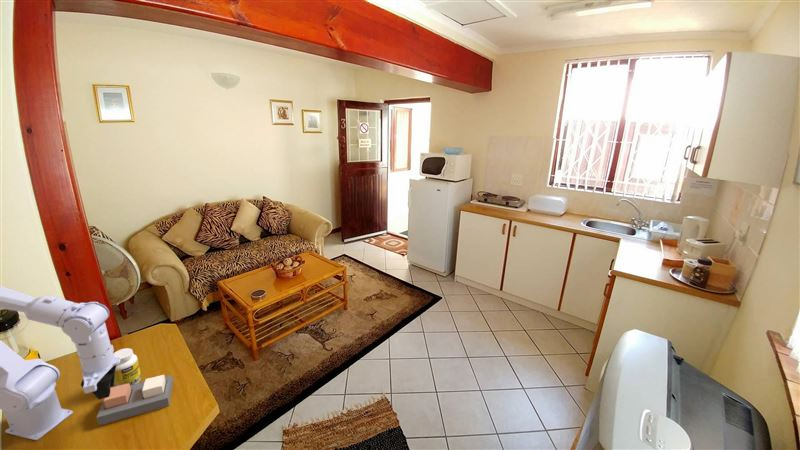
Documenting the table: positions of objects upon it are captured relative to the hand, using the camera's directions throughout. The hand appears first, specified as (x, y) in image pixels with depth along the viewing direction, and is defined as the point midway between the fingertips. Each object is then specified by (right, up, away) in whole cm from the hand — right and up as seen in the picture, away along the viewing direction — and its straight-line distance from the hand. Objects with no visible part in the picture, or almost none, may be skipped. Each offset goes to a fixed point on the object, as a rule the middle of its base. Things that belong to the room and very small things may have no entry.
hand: (106, 391), depth 80 cm
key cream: (+6, -5, +9) cm, 12 cm away
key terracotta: (-1, -5, +5) cm, 8 cm away
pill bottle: (-6, -5, +14) cm, 16 cm away
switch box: (+2, -7, +8) cm, 11 cm away
